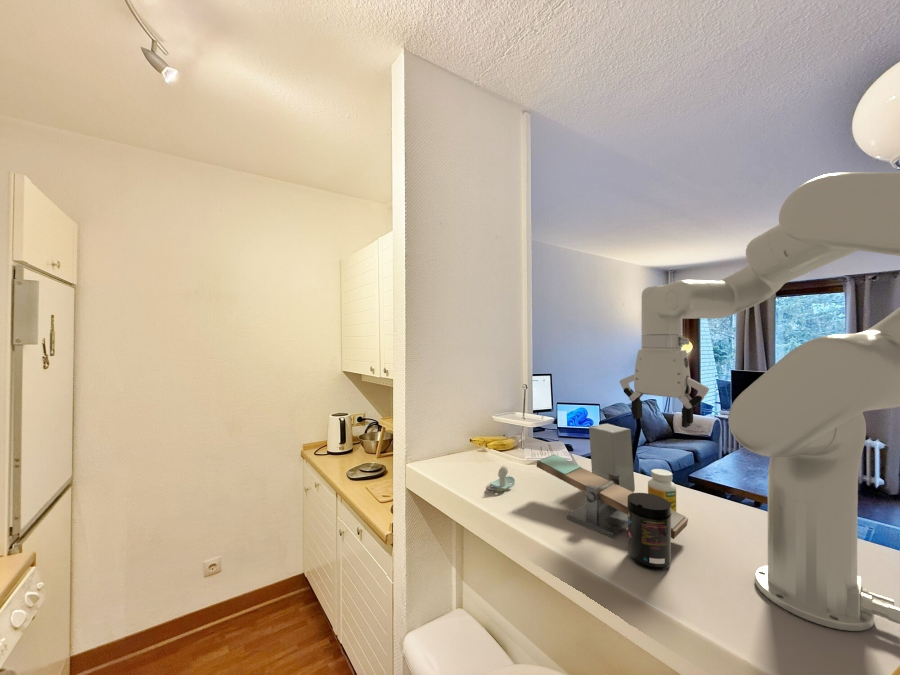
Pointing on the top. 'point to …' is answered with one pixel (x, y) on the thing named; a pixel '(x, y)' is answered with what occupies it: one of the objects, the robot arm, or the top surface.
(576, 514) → the beam stand
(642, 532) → the supplement container
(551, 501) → the top surface
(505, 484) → the pacifier
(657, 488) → the supplement bottle
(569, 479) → the beam
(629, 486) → the skincare box
